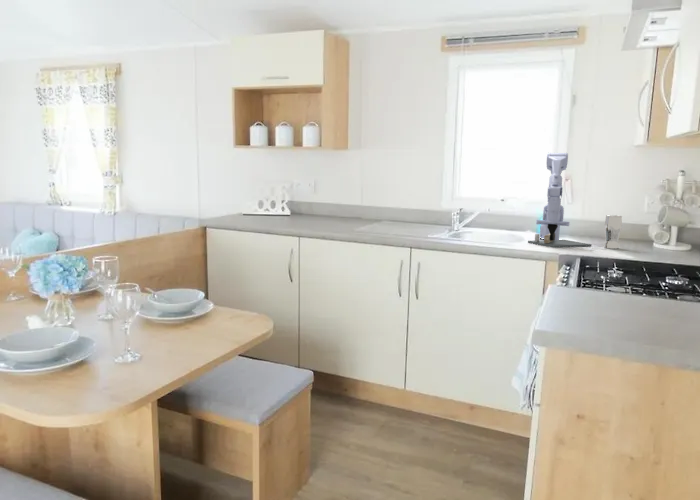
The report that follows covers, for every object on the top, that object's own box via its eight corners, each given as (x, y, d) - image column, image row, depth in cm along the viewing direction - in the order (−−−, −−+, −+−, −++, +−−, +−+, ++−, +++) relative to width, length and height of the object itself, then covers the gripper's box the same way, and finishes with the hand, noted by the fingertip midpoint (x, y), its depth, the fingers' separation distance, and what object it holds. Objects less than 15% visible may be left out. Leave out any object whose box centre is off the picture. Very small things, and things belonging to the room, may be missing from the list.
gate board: (527, 242, 268) (528, 232, 268) (564, 241, 276) (564, 232, 275) (553, 247, 252) (554, 237, 251) (591, 246, 259) (592, 236, 259)
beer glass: (610, 249, 250) (613, 216, 248) (599, 247, 257) (602, 215, 255) (622, 249, 252) (625, 216, 250) (612, 247, 259) (614, 215, 257)
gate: (550, 239, 271) (550, 232, 271) (555, 240, 270) (555, 233, 269) (543, 242, 258) (543, 235, 257) (548, 243, 257) (548, 235, 256)
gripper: (535, 211, 260) (533, 239, 262) (568, 212, 252) (566, 242, 254) (539, 210, 266) (537, 238, 267) (571, 212, 258) (568, 240, 260)
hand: (551, 240), depth 261 cm, fingers closed, pressing on gate
